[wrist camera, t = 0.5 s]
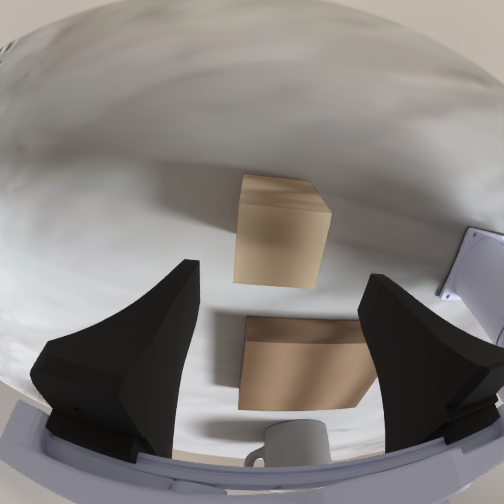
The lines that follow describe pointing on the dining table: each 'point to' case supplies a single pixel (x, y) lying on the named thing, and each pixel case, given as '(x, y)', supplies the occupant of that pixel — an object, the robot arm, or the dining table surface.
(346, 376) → the walnut base
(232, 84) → the dining table surface
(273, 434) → the coffee mug
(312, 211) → the beech block
